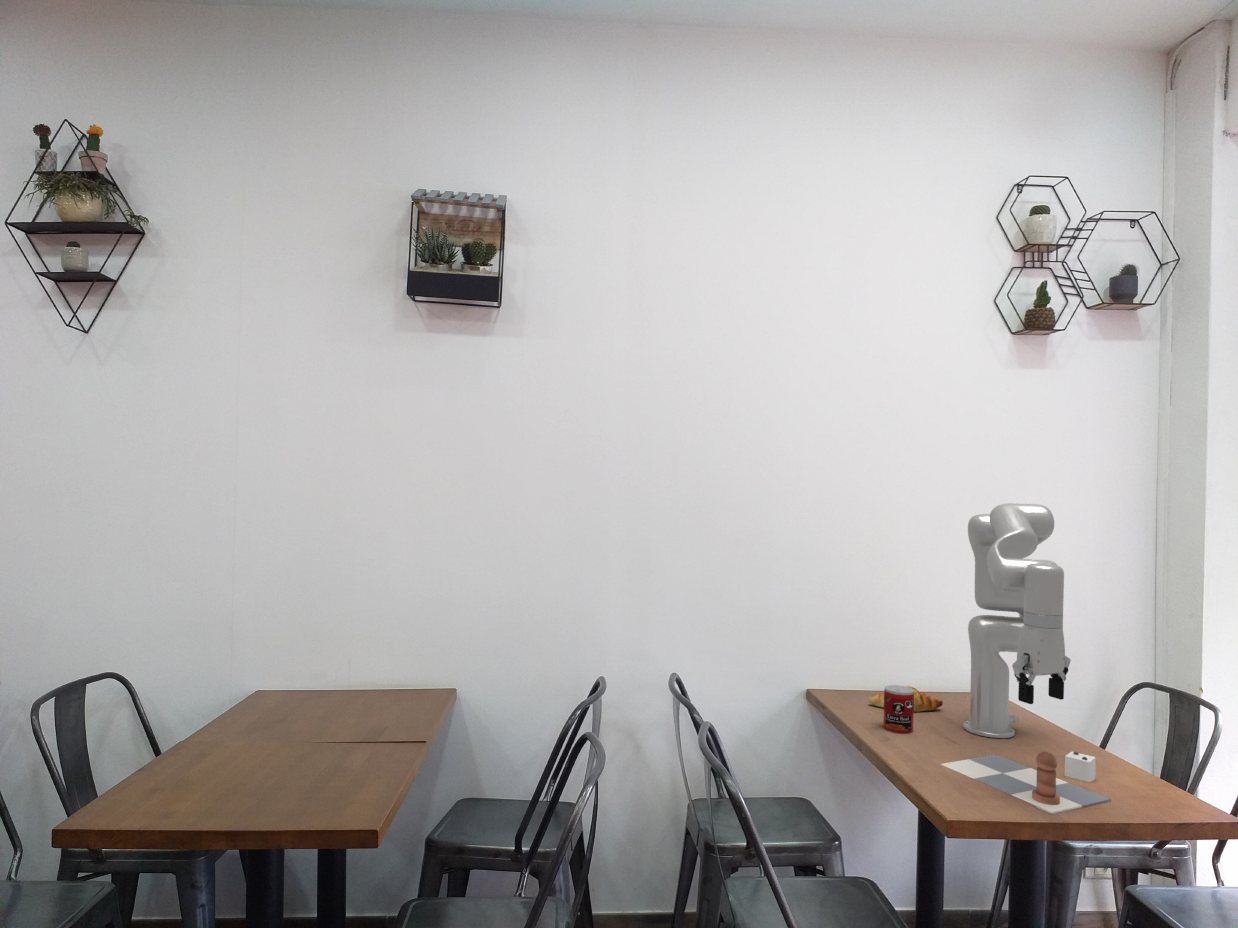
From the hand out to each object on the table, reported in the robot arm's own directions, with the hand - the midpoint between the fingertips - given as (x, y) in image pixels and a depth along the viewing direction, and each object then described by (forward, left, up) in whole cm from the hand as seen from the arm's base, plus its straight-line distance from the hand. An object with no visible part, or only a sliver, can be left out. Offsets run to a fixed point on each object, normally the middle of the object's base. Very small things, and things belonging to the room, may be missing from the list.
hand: (1041, 699), depth 167 cm
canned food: (-5, -46, -21) cm, 51 cm away
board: (-3, -7, -21) cm, 22 cm away
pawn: (+1, +2, -20) cm, 21 cm away
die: (-19, -4, -21) cm, 29 cm away
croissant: (-23, -61, -21) cm, 69 cm away
